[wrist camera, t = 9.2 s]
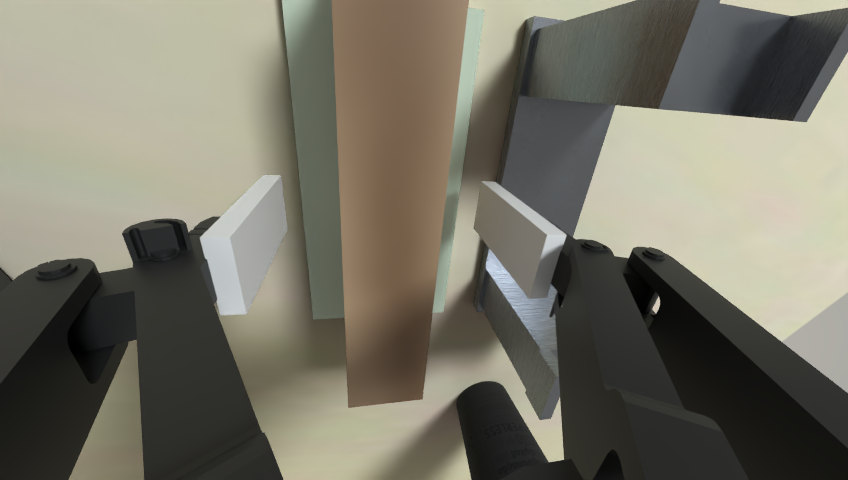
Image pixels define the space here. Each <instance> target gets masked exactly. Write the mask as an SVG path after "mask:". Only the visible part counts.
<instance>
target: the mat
mask: <svg viewBox="0 0 848 480" xmlns="http://www.w3.org/2000/svg"><path fill="white" fill-rule="evenodd" d="M282 7H283V17H284V27H285V38H286V48H287V58H288V68H289V78H290V89H291V99H292V109H293V119H294V129H295V139H296V150H297V160H298V170H299V180H300V190H301V200H302V211H303V221H304V231H305V241H306V251H307V262H308V272H309V282H310V292H311V302H312V312H313V320H318V319H335V318H345V314H344V289H343V265H342V241H341V216H340V192H339V167H338V143H337V119H336V94H335V70H334V46H333V21H332V0H282ZM483 16H484V10H481V9H474V8H468V12H467V20H466V29H465V38H464V46H463V55H462V63H461V72H460V80H459V89H458V98H457V106H456V115H455V123H454V132H453V141H452V149H451V158H450V166H449V175H448V184H447V192H446V201H445V209H444V218H443V226H442V235H441V244H440V252H439V261H438V269H437V278H436V287H435V295H434V304H433V312H432V313H437V312H443V311H444V304H445V296H446V289H447V281H448V274H449V267H450V259H451V252H452V245H453V237H454V230H455V223H456V215H457V208H458V200H459V193H460V186H461V178H462V171H463V164H464V156H465V149H466V141H467V134H468V127H469V119H470V112H471V105H472V97H473V90H474V83H475V75H476V68H477V60H478V53H479V46H480V38H481V31H482V24H483Z"/></svg>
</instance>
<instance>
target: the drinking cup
mask: <svg viewBox="0 0 848 480" xmlns="http://www.w3.org/2000/svg"><path fill="white" fill-rule="evenodd" d="M457 410H458V415H459V420H460V425H461V430H462V435H463V440H464V445H465V450H466V455H467V459H468V464H469V469H470V474H471V479H472V480H500V479H502V478H504V477H506V476H507V475H509V474H511V473H513V472H515V471H516V470H518V469H520V468H522V467H526V466H532V465H538V464H544V463H549V462H548V460H547V459H546V457H545V455H544V454H543V452H542V450H541V449H540V447H539V445H538V444H537V442H536V440H535V439H534V437H533V435H532V433H531V432H530V430H529V428H528V427H527V425H526V423H525V422H524V420H523V418H522V417H521V415H520V413H519V412H518V410H517V408H516V407H515V405H514V403H513V401H512V400H511V398H510V396H509V395H508V393H507V391H506V390H505V388H504V387H503V386H502V385H501V384H499V383H497V382H481V383H478V384H475V385H473V386H471V387H469V388H468V389H466V390H465V391H464V392H463V393H462V394H461V395H460V396H459V398H458V401H457Z"/></svg>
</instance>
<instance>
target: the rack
mask: <svg viewBox="0 0 848 480" xmlns="http://www.w3.org/2000/svg"><path fill="white" fill-rule="evenodd" d="M719 2H720V0H636V1H633V2H629V3H626V4H622V5H619V6H615V7H612V8H608V9H605V10H602V11H598V12H595V13H591V14H588V15H584V16H581V17H577V18H574V19H571V20H567V21H563V20H556V19H550V18H543V17H536V16H534V17H531V18H529V19H527V20H526V26H525V31H524V36H523V42H522V47H521V53H520V58H519V63H518V69H517V74H516V79H515V85H514V90H513V95H512V101H511V106H510V111H509V117H508V122H507V127H506V133H505V138H504V143H503V149H502V154H501V160H500V165H499V170H498V176H497V181H496V183H497V184H499V185H500V186H501V187H503V188H504V189H506V190H507V191H508V192H510V193H511V194H512V195H514V196H515V197H516V198H518V199H519V200H520V201H522V202H523V203H524V204H526V205H527V206H529V207H530V208H531V209H533V210H534V211H535V212H537V213H538V214H539V215H541V216H542V217H543V218H545V219H546V220H549V221H551V222H552V223H554V224H555V225H556V226H558V227H559V228H560V229H562V230H563V232H566V233H567V234H569V235H570V236H571V237H573V235H574V232H575V229H576V225H577V222H578V219H579V216H580V213H581V210H582V207H583V204H584V201H585V198H586V195H587V191H588V188H589V185H590V182H591V179H592V176H593V173H594V170H595V167H596V164H597V161H598V157H599V154H600V151H601V148H602V145H603V142H604V139H605V136H606V133H607V130H608V127H609V123H610V120H611V117H612V114H613V111H614V108H615V105H621V106H632V107H642V108H653V109H664V110H675V111H676V110H677V111H689V112H700V113H711V114H722V115H734V116H745V117H756V118H767V119H777V120H788V121H799V122H807V120H808V119H809V117H810V115H811V113H812V112H813V110H814V108H815V107H816V105H817V103H818V101H819V100H820V98H821V96H822V95H823V93H824V91H825V89H826V88H827V86H828V84H829V83H830V81H831V79H832V78H833V76H834V74H835V72H836V71H837V69H838V67H839V66H840V64H841V62H842V60H843V59H844V57H845V55H846V54H847V52H848V8H844V9H837V10H831V11H824V12H817V13H811V14H804V15H797V16H787V15H782V14H776V13H771V12H765V11H760V10H754V9H748V8H743V7H737V6H732V5H726V4H720V3H719ZM556 294H557V290H556V289H555V288H554V287H553V286H552V285H551V286H550V290H549V293H548V296H547V298H539V299H529V298H528V297H527V296H526V295H525V293H524V292H523V291H522V289H521V288H520V287H519V286H518V284H517V283H516V282H515V280H514V279H513V278H512V277H511V275H510V274H509V273H508V271H507V270H506V269H505V268H504V266H503V265H502V264H501V262H500V261H499V260H498V259H497V257H496V256H495V255H494V254H493V252H492V251H491V250H490V248H489V247H488V246H487V245H486V243H485V245H484V250H483V256H482V261H481V267H480V272H479V277H478V283H477V288H476V293H475V299H474V304H473V305H474V307H475V309H476V311H477V312H484V313H485V314H486V316H487V318H488V320H489V322H490V324H491V326H492V327H493V329H494V331H495V333H496V335H497V337H498V338H499V340H500V342H501V344H502V346H503V348H504V349H505V351H506V353H507V355H508V357H509V359H510V361H511V362H512V364H513V366H514V368H515V370H516V372H517V373H518V375H519V377H520V379H521V381H522V383H523V385H524V386H525V388H526V392H525V393H526V395H527V397H528V399H529V401H530V403H531V405H532V406H533V408H534V410H535V412H536V414H537V416H538V418H539V420H543V419H551V417H552V414H553V412H554V409H555V407H556V404H557V402H558V400H559V397H560V385H559V369H558V354H557V338H556V322H555V314H553V316H552V317H549V315H550V312H551V309H552V306H553V303H554V300H555V297H556Z"/></svg>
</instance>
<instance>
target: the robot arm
mask: <svg viewBox="0 0 848 480" xmlns="http://www.w3.org/2000/svg"><path fill="white" fill-rule="evenodd" d="M287 229H288V227H287V219H286V211H285V203H284V195H283V187H282V179H281V175H263V176H262V177H261V178H260V179H259V180H258V181H257V182H256V183H255V184H254V185H253V186H252V187H251V188H250V189H249V190H248V191H247V192H246V193H245V194H244V195H243V196H241V197H240V198H239V199H238V200H237V201H236V202H235V203H234V204H233V205H232V206H231V207H230V208H229V209H228V210H227V211H226V212H225V213H224V214H223V215H222V216H221V217H211V218H209V219H206V220H204V221H202V222H200V223H199V224H198V225H197V226H196V227H195V228H194V230H191V231H190V232H189V233H188V229H187V226H186V223H185V222H184V221H182V220H178V219H157V220H150V221H145V222H141V223H138V224H135V225H132V226H130V227H128V228H127V229H125V230H124V231H123V233H122V235H123V237H124V240H125V242H126V245H127V248H128V250H129V253H130V255H131V258H132V261H133V268H128V269H123V270H116V271H110V272H103V273H99V272H98V270H97V268H96V266H95V263H94V262H93V261H91V260H89V259H82V258H78V259H66V260H54V261H50V263H48V262H46V263H43V264H40V265H38V266H37V267H35V268H32V269H30V270H28V271H26V272H24V273H23V274H21V275H19V276H18V277H17V278H16V279H14V280H13V281H11V280H10V279H9V278H8V277H7V276H6V275H5V274H4V273H3V272H2V271H1V270H0V480H69V477H70V475H71V473H72V470H73V468H74V466H75V464H76V461H77V459H78V457H79V455H80V452H81V450H82V448H83V446H84V443H85V441H86V439H87V437H88V434H89V432H90V430H91V427H92V425H93V423H94V421H95V418H96V416H97V414H98V412H99V409H100V407H101V405H102V403H103V400H104V398H105V396H106V393H107V391H108V389H109V387H110V384H111V382H112V380H113V378H114V375H115V373H116V371H117V369H118V366H119V364H120V362H121V359H122V357H123V355H124V353H125V350H126V348H127V346H128V342H129V341H133V340H137V348H138V367H139V386H140V404H141V423H142V442H143V461H144V479H145V480H283V477H282V475H281V472H280V470H279V467H278V464H277V462H276V459H275V457H274V454H273V451H272V449H271V446H270V444H269V441H268V439H267V437H266V435H265V433H262V431H261V429H260V426H259V424H258V421H257V418H256V416H255V413H254V410H253V408H252V405H251V402H250V400H249V397H248V394H247V392H246V389H245V386H244V384H243V381H242V378H241V376H240V373H239V370H238V368H237V365H236V362H235V360H234V357H233V354H232V352H231V349H230V346H229V344H228V341H227V338H226V336H225V333H224V330H223V328H222V325H221V322H220V320H219V317H218V314H217V312H216V309H215V306H214V304H215V302H217V305H218V309H219V313H220V315H239V314H247V312H248V310H249V308H250V306H251V304H252V302H253V300H254V298H255V295H256V293H257V291H258V289H259V287H260V285H261V283H262V281H263V279H264V277H265V275H266V273H267V271H268V268H269V266H270V264H271V262H272V260H273V258H274V256H275V254H276V252H277V250H278V248H279V246H280V244H281V242H282V239H283V237H284V235H285V233H286V231H287ZM474 229H475V230H476V232H477V233H478V234H479V236H480V237H481V238H482V239H483V241H484V242H485V243H486V245H487V246H488V247H489V248H490V250H491V251H492V252H493V254H494V255H495V256H496V257H497V259H498V260H499V261H500V262H501V264H502V265H503V266H504V268H505V269H506V270H507V271H508V273H509V274H510V275H511V277H512V278H513V279H514V280H515V282H516V283H517V284H518V286H519V287H520V288H521V289H522V291H523V292H524V293H525V295H526V296H527V297H528V298H529V299H539V298H547V296H548V293H549V290H550V286H551V285H552V286H553V287H554V288H555V289H556V290H557V294H556V297H555V300H554V303H553V306H552V309H551V312H550V315H549V317H552V316H553V314H555V322H556V338H557V354H558V369H559V385H560V401H561V416H562V432H563V448H564V460H561V461H555V462H549V463H544V464H538V465H532V466H526V467H522V468H520V469H518V470H516V471H515V472H513V473H511V474H509V475H507V476H506V477H504V478H502V479H500V480H848V393H847V392H845V391H844V390H843V389H842V388H840V387H839V386H838V385H836V384H835V383H834V382H833V381H831V380H830V379H829V378H827V377H826V376H825V375H823V374H822V373H821V372H820V371H818V370H817V369H816V368H814V367H813V366H812V365H811V364H809V363H808V362H807V361H805V360H804V359H803V358H802V357H800V356H799V355H798V354H796V353H795V352H794V351H792V350H791V349H790V348H789V347H787V346H786V345H785V344H783V343H782V342H781V341H780V340H778V339H777V338H776V337H774V336H773V335H772V334H771V333H769V332H768V331H767V330H765V329H764V328H763V327H761V326H760V325H759V324H758V323H756V322H755V321H754V320H752V319H751V318H750V317H749V316H747V315H746V314H745V313H743V312H742V311H741V310H740V309H738V308H737V307H736V306H734V305H733V304H732V303H730V302H729V301H728V300H727V299H725V298H724V297H723V296H721V295H720V294H719V293H718V292H716V291H715V290H714V289H712V288H711V287H710V286H709V285H707V284H706V283H705V282H703V281H702V280H701V279H699V278H698V277H697V276H696V275H694V274H693V273H692V272H690V271H689V270H688V269H687V268H685V267H684V266H683V265H681V264H680V263H679V262H678V261H676V260H675V259H674V258H672V257H671V256H669V255H667V254H665V253H663V252H662V251H660V250H658V249H655V248H651V247H649V248H646V247H635V248H633V250H632V252H631V255H630V257H629V258H622V257H615V256H614V255H613V252H612V251H611V250H610V248H608V247H607V246H605V245H603V244H601V243H599V242H597V241H593V240H584V239H579V240H576V239H574V238H573V237H571V236H570V235H569V234H567V233H566V232H563V230H562V229H560V228H559V227H558V226H556V225H555V224H554V223H552V222H551V221H549V220H546V219H545V218H543V217H542V216H541V215H539V214H538V213H537V212H535V211H534V210H533V209H531V208H530V207H529V206H527V205H526V204H524V203H523V202H522V201H520V200H519V199H518V198H516V197H515V196H514V195H512V194H511V193H510V192H508V191H507V190H506V189H504V188H503V187H501V186H500V185H499V184H497V183H496V182H493V181H481V187H480V193H479V199H478V205H477V211H476V217H475V223H474ZM658 296H659V298H660V307H659V310H658V312H657V314H655V312H654V311H653V310H652V308H653V306H654V304H655V302H656V300H657V298H658Z"/></svg>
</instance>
